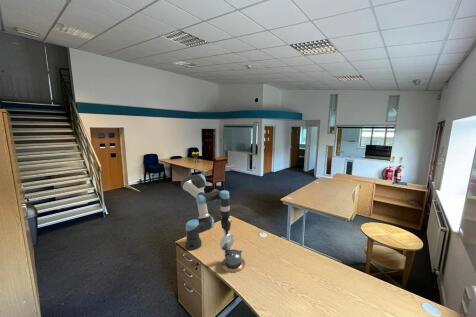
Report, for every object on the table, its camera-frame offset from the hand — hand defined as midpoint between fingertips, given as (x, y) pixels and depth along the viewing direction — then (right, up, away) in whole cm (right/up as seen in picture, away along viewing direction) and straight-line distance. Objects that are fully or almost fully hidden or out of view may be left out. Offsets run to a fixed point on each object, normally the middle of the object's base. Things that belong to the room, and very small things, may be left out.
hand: (226, 237), depth 170 cm
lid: (+1, -4, 0) cm, 4 cm away
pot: (+6, -20, -2) cm, 21 cm away
